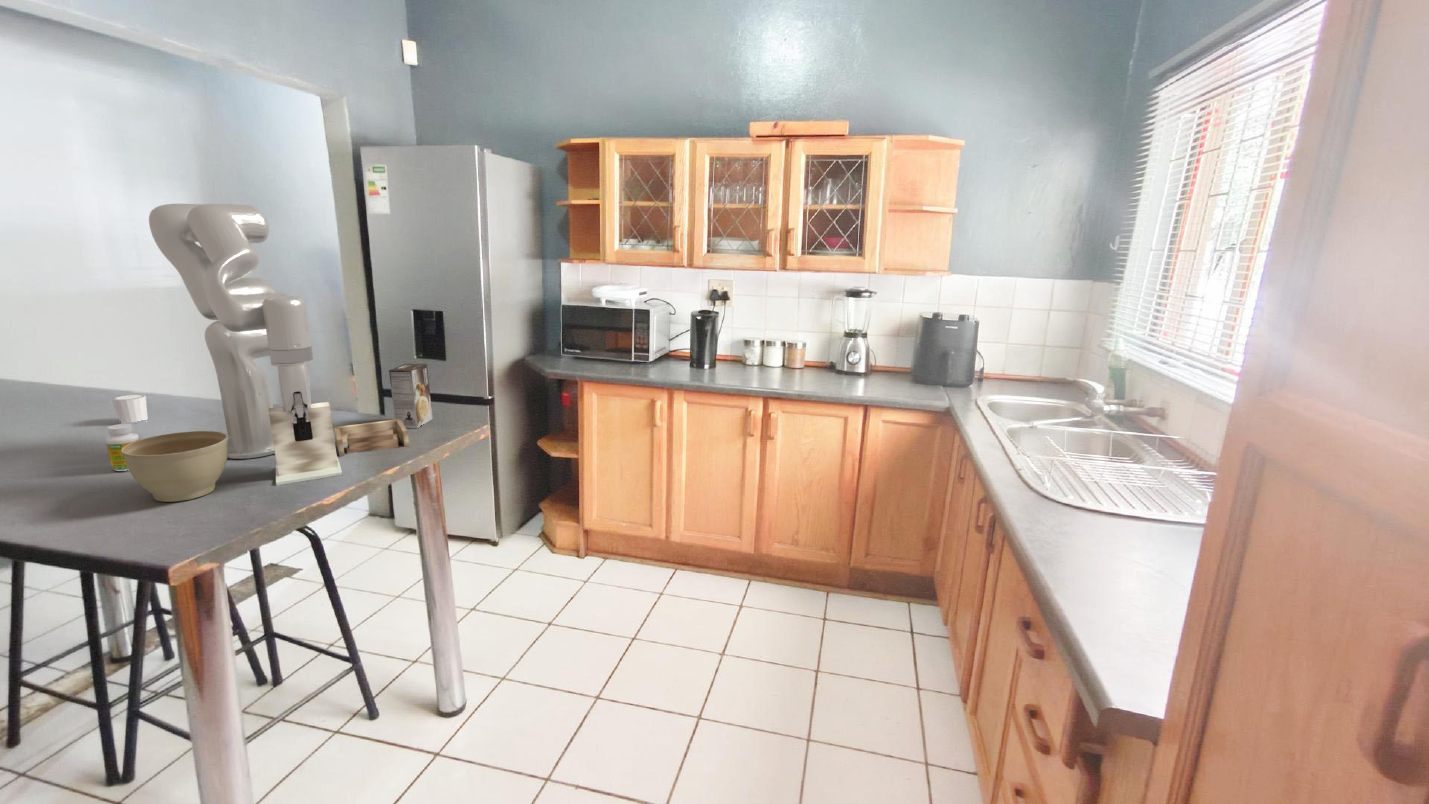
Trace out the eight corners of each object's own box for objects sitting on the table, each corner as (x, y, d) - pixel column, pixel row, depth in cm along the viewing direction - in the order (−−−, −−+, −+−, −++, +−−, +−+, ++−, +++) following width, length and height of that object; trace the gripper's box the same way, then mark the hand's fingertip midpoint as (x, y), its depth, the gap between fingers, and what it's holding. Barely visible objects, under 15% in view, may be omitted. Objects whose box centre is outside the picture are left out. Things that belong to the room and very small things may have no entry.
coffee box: (410, 418, 184) (405, 363, 180) (433, 419, 184) (428, 363, 180) (394, 428, 175) (388, 369, 171) (418, 428, 175) (412, 370, 171)
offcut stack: (347, 454, 155) (345, 439, 154) (348, 449, 159) (346, 433, 158) (398, 449, 160) (396, 433, 159) (398, 443, 164) (396, 428, 163)
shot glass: (146, 417, 181) (141, 392, 180) (154, 421, 178) (149, 396, 176) (114, 422, 176) (108, 397, 174) (121, 427, 172) (116, 401, 170)
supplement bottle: (109, 474, 140) (100, 430, 137) (115, 466, 144) (106, 424, 142) (142, 470, 142) (133, 427, 140) (147, 462, 147) (138, 421, 144)
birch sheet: (278, 476, 138) (268, 412, 135) (278, 470, 142) (268, 408, 138) (338, 466, 144) (329, 405, 141) (336, 461, 148) (328, 401, 144)
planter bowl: (216, 505, 125) (206, 451, 122) (114, 514, 120) (101, 458, 118) (248, 476, 140) (240, 427, 137) (158, 482, 135) (148, 432, 133)
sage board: (276, 485, 135) (275, 482, 135) (276, 468, 145) (275, 465, 144) (342, 474, 141) (342, 472, 141) (337, 458, 151) (337, 456, 151)
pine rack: (339, 456, 153) (337, 439, 152) (335, 442, 163) (333, 427, 162) (409, 445, 161) (407, 430, 160) (401, 433, 171) (399, 418, 170)
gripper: (270, 351, 142) (282, 426, 146) (270, 364, 128) (283, 448, 132) (310, 348, 146) (321, 422, 150) (314, 361, 132) (326, 442, 136)
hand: (303, 434), depth 141 cm, fingers open, 9 cm apart
